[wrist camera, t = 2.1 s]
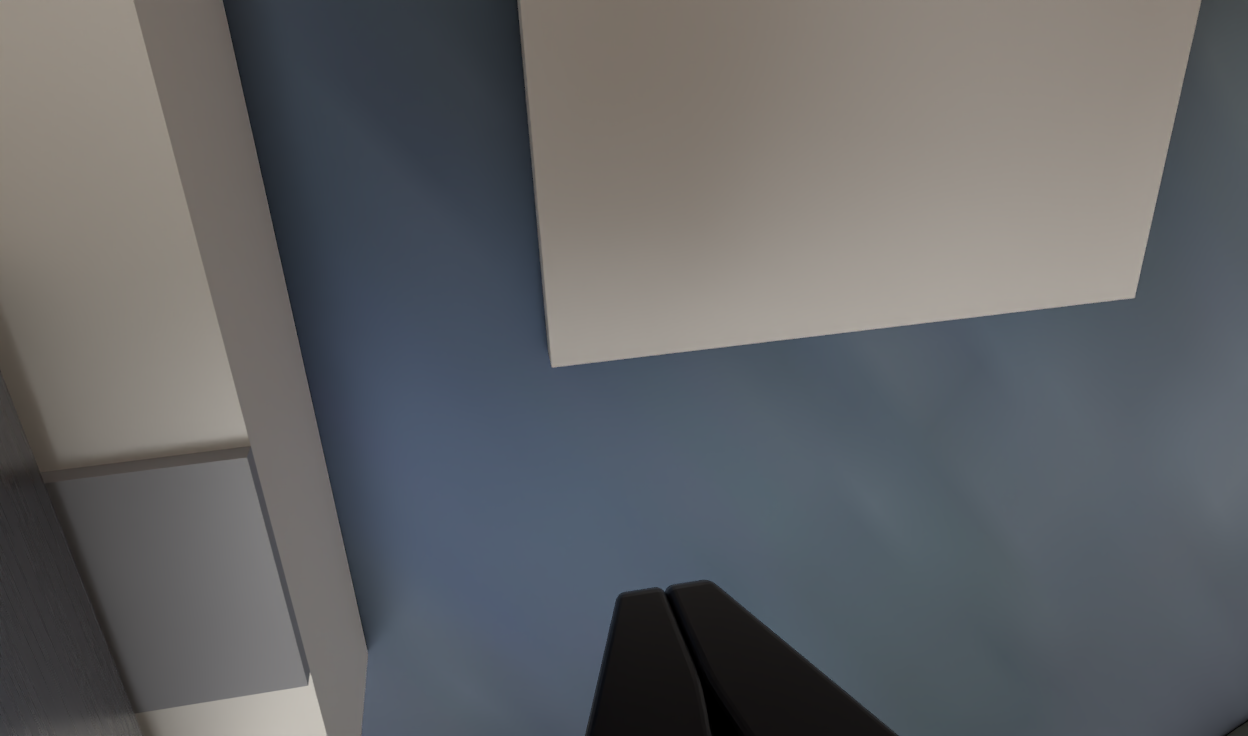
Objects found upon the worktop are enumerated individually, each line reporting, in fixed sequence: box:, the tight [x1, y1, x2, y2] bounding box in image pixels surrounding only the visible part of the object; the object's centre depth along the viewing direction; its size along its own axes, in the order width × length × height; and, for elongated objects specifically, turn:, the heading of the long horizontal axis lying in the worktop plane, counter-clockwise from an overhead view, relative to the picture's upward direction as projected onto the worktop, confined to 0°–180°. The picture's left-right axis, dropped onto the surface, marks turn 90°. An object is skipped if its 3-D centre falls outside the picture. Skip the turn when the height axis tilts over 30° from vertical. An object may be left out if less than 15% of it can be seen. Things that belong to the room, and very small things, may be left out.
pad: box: [517, 0, 1201, 368], centre depth 11 cm, size 8×8×1 cm
